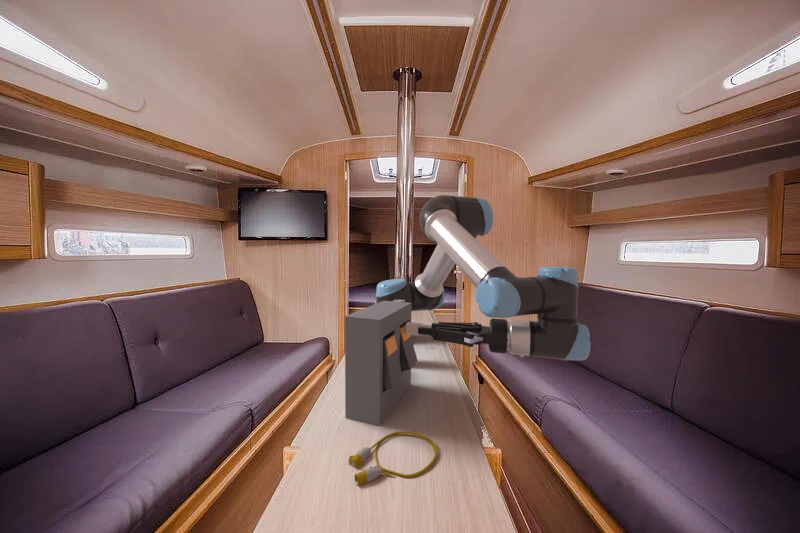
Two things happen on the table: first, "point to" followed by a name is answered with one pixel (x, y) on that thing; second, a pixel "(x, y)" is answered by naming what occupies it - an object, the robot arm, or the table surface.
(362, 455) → the extension cord
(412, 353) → the panel
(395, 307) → the block
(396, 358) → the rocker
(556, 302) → the robot arm
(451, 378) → the table surface
